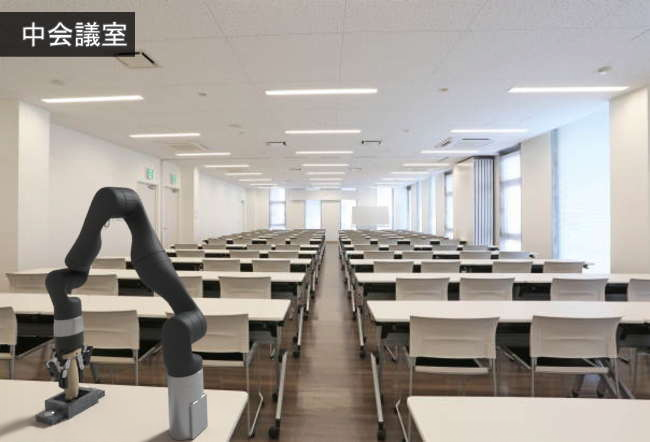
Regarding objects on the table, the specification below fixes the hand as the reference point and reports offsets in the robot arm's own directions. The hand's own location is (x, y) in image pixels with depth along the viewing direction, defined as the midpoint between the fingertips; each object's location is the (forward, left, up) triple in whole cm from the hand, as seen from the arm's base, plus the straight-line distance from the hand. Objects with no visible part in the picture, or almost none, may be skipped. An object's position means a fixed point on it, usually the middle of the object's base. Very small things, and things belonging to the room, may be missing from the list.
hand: (71, 384), depth 109 cm
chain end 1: (0, +2, -8) cm, 8 cm away
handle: (0, 0, -4) cm, 4 cm away
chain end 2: (0, -2, -8) cm, 8 cm away
